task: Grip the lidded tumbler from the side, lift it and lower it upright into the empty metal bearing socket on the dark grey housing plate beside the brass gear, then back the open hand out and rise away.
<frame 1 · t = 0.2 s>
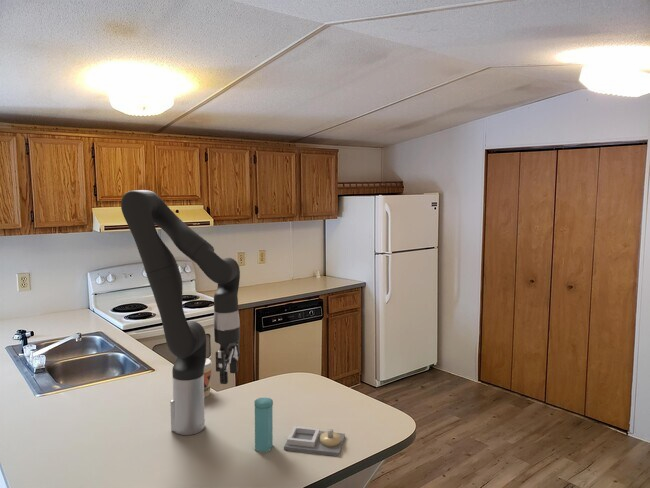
hand: (229, 378, 150), 17 cm above the counter, fingers open, 8 cm apart
lidded tumbler: (263, 447, 144), on the counter
housing: (315, 443, 146), on the counter
coffee cup: (199, 394, 179), on the counter
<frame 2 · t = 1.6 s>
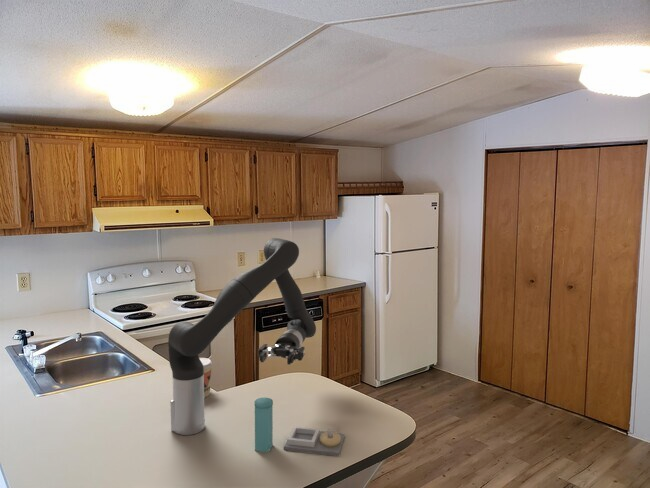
hand: (274, 360, 152), 22 cm above the counter, fingers open, 8 cm apart
nothing on the counter moved.
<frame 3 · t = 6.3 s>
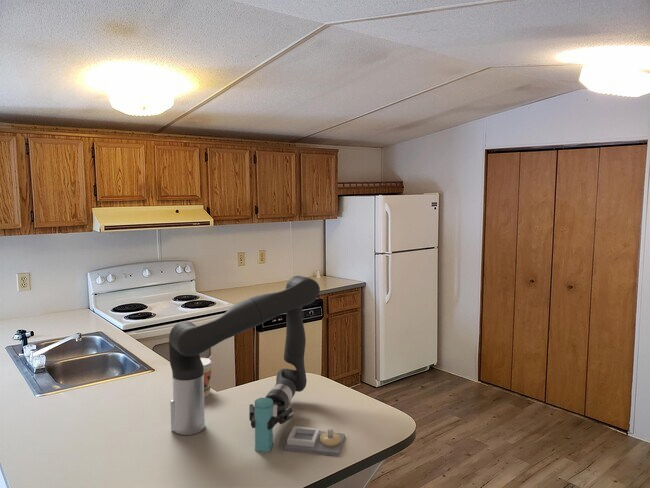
hand: (261, 425, 140), 8 cm above the counter, fingers closed on lidded tumbler, 4 cm apart
lidded tumbler: (264, 447, 144), on the counter, touching gripper
everything else where it was.
when the fingers open (11 cm above the counter, at t = 10.7 s): lidded tumbler drops 2 cm, resting on housing.
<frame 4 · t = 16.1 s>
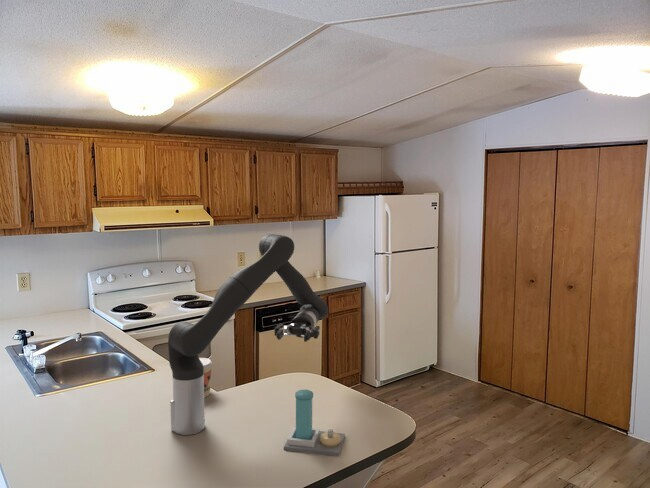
hand: (291, 337, 155), 28 cm above the counter, fingers open, 8 cm apart
lidded tumbler: (303, 438, 147), point 1 cm above the counter, touching housing
everything else where it was.
at the end: lidded tumbler 0.1 cm from the target spot on the housing, point 1.0 cm above the housing's base; lidded tumbler tilted 0°; the gripper is holding nothing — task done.
